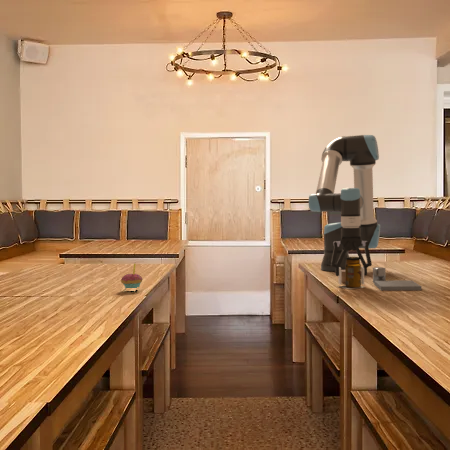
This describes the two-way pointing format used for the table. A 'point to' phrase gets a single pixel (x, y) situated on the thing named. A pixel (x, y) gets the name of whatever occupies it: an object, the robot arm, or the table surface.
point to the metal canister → (378, 274)
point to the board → (397, 285)
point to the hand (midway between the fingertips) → (351, 283)
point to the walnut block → (343, 276)
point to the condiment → (352, 273)
